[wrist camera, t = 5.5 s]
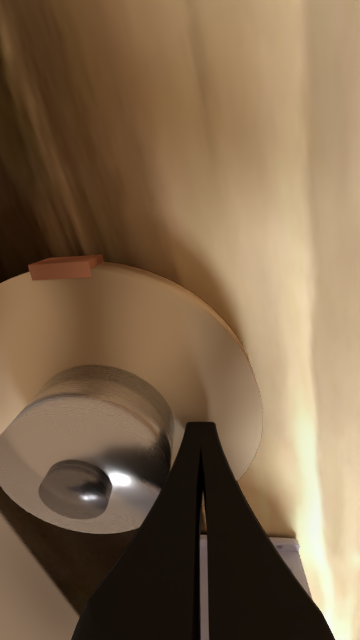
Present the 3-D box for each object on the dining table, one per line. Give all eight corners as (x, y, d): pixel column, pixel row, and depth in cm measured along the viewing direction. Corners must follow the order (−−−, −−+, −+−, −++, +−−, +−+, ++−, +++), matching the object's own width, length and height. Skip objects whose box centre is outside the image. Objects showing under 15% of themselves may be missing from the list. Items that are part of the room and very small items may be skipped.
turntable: (266, 243, 10) (276, 249, 9) (250, 498, 17) (255, 524, 15) (-91, 266, 12) (-131, 275, 10) (22, 492, 18) (8, 516, 17)
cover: (171, 365, 11) (160, 432, 8) (177, 473, 14) (170, 555, 11) (19, 363, 12) (-52, 425, 8) (54, 467, 14) (11, 544, 11)
